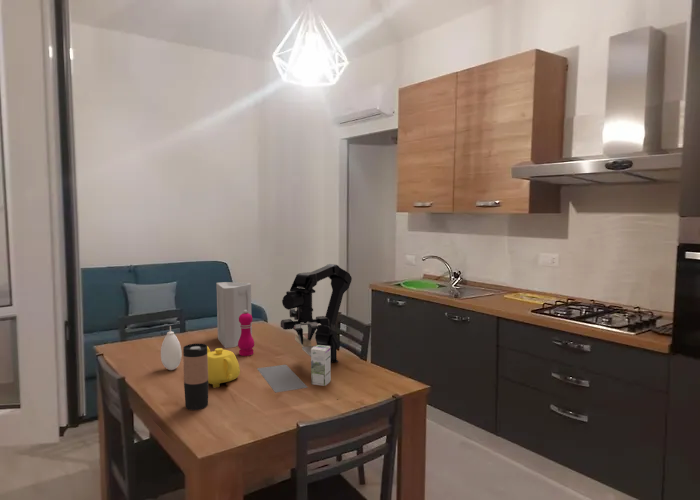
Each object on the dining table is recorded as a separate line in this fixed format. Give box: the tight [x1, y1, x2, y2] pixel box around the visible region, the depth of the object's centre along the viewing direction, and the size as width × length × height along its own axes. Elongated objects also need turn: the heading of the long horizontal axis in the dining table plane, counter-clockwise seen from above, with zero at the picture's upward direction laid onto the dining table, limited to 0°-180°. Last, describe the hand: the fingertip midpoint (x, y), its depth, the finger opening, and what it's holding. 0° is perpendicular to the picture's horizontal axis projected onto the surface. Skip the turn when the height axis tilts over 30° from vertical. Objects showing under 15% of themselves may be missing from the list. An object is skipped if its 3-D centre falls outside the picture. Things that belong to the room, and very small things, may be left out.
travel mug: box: [182, 343, 209, 411], centre depth 162 cm, size 8×8×20 cm
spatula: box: [294, 333, 315, 358], centre depth 195 cm, size 5×24×3 cm, turn 23°
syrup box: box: [310, 344, 332, 387], centre depth 181 cm, size 6×6×14 cm
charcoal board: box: [256, 364, 309, 393], centre depth 187 cm, size 12×28×1 cm, turn 24°
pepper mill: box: [237, 310, 255, 357], centre depth 219 cm, size 7×7×20 cm
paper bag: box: [216, 281, 253, 349], centre depth 240 cm, size 19×15×28 cm
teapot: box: [207, 345, 241, 389], centre depth 186 cm, size 14×20×13 cm
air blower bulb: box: [160, 325, 183, 371], centre depth 199 cm, size 8×8×18 cm
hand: (305, 343), depth 197 cm, fingers closed on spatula, 2 cm apart
